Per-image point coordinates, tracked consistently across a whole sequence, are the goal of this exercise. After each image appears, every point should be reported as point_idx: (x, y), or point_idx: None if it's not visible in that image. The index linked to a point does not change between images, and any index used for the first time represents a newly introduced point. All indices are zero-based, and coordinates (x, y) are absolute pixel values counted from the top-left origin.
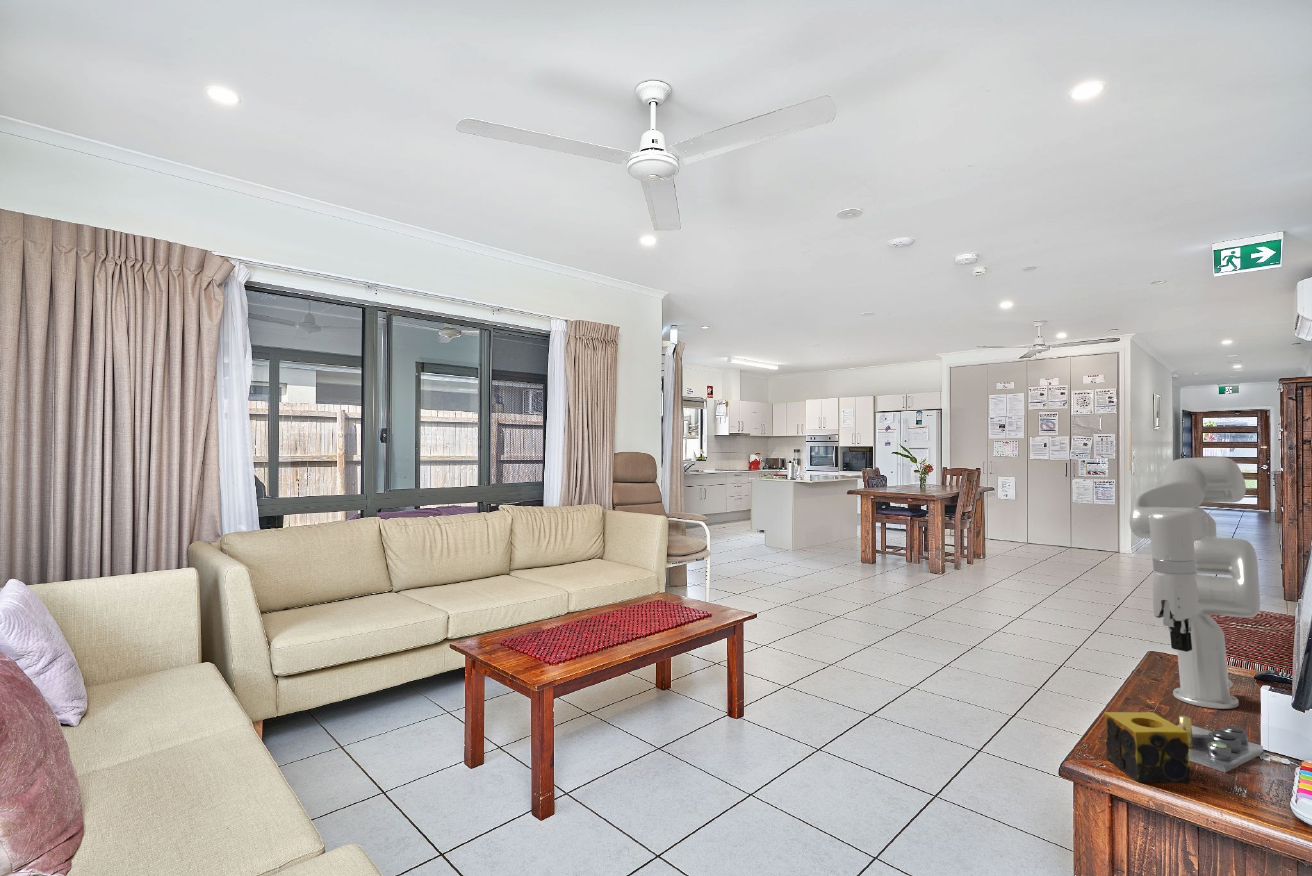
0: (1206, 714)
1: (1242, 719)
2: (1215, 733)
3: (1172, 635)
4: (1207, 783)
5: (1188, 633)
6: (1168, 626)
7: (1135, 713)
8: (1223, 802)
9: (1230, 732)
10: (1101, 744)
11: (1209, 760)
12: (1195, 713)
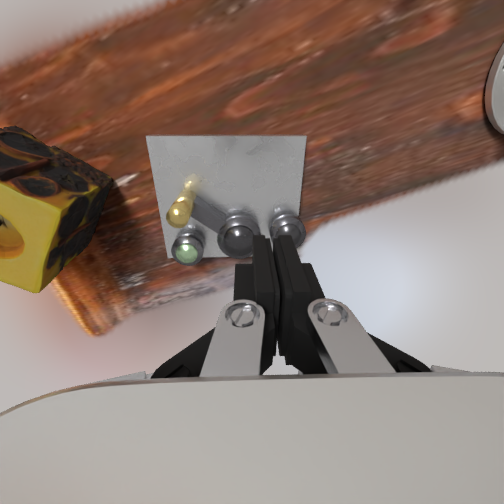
0: (436, 117)
1: (445, 172)
2: (228, 234)
3: (255, 283)
4: (111, 254)
5: (286, 356)
6: (215, 332)
7: (3, 191)
8: (79, 284)
9: (270, 236)
10: (66, 71)
11: (165, 239)
12: (429, 100)
